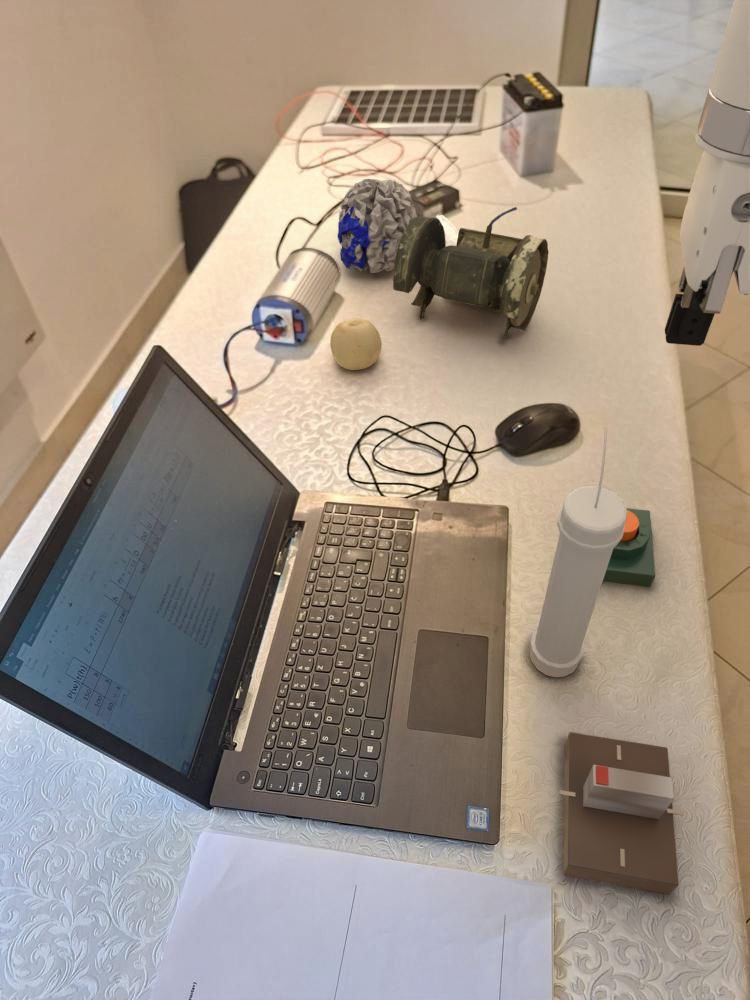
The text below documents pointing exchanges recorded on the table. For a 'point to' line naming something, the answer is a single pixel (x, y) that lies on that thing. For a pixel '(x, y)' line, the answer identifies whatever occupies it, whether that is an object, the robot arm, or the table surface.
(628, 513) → the button
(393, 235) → the educational model
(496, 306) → the bench grinder
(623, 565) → the button box
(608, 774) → the rod knob
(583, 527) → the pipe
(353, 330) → the apple
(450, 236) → the bird figurine
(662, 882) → the panel
